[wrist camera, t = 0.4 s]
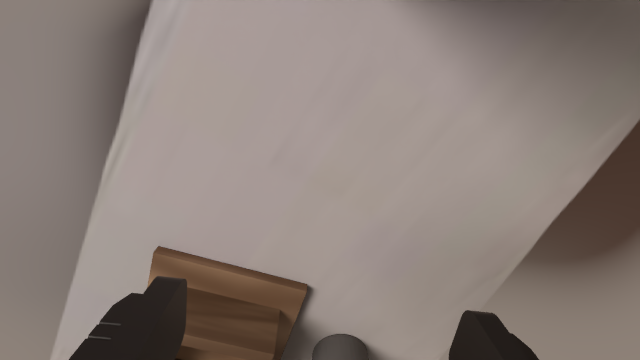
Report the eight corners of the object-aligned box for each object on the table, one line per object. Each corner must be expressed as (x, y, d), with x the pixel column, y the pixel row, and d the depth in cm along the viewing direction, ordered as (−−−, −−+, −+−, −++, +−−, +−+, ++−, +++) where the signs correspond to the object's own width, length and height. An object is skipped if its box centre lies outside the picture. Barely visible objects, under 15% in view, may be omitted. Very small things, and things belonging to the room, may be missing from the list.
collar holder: (158, 246, 30) (123, 291, 25) (307, 284, 32) (305, 334, 27) (136, 368, 36) (103, 427, 30) (264, 394, 38) (255, 455, 32)
